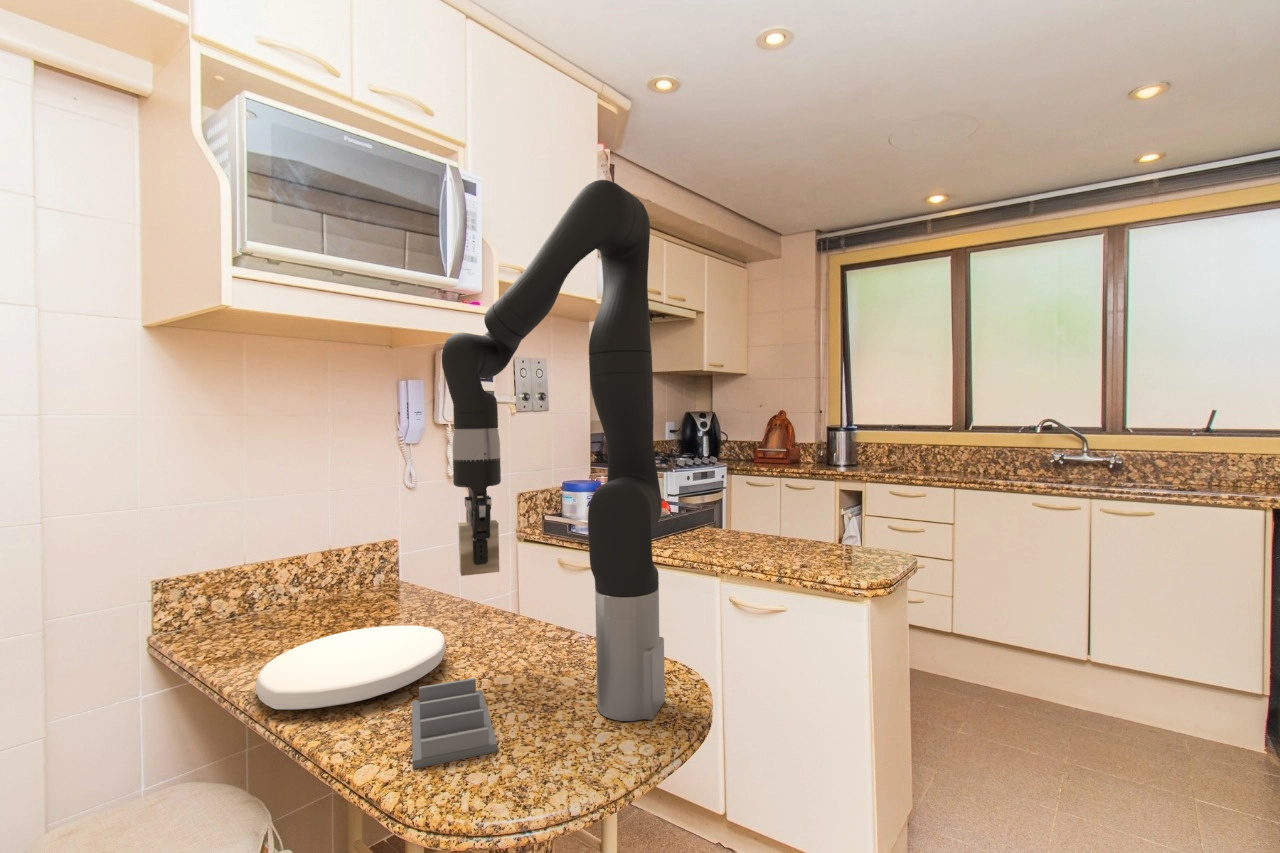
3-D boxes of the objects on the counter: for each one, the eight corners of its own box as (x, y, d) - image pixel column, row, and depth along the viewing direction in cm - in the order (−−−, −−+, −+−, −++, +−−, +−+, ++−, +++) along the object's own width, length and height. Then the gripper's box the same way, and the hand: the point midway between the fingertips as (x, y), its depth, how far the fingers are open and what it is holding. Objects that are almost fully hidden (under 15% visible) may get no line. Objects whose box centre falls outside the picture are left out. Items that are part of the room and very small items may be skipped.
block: (499, 571, 99) (498, 523, 99) (461, 575, 97) (460, 525, 97) (496, 567, 102) (495, 519, 102) (459, 570, 100) (458, 522, 100)
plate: (239, 703, 81) (265, 640, 105) (246, 750, 82) (270, 677, 106) (454, 645, 93) (433, 600, 117) (459, 686, 94) (437, 633, 118)
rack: (497, 751, 77) (496, 728, 77) (412, 769, 73) (412, 744, 73) (482, 696, 92) (481, 676, 92) (412, 708, 89) (411, 687, 89)
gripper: (506, 457, 94) (508, 568, 94) (494, 453, 107) (496, 550, 108) (456, 459, 92) (458, 573, 92) (450, 455, 105) (452, 555, 105)
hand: (479, 560), depth 100 cm, fingers closed on block, 3 cm apart
